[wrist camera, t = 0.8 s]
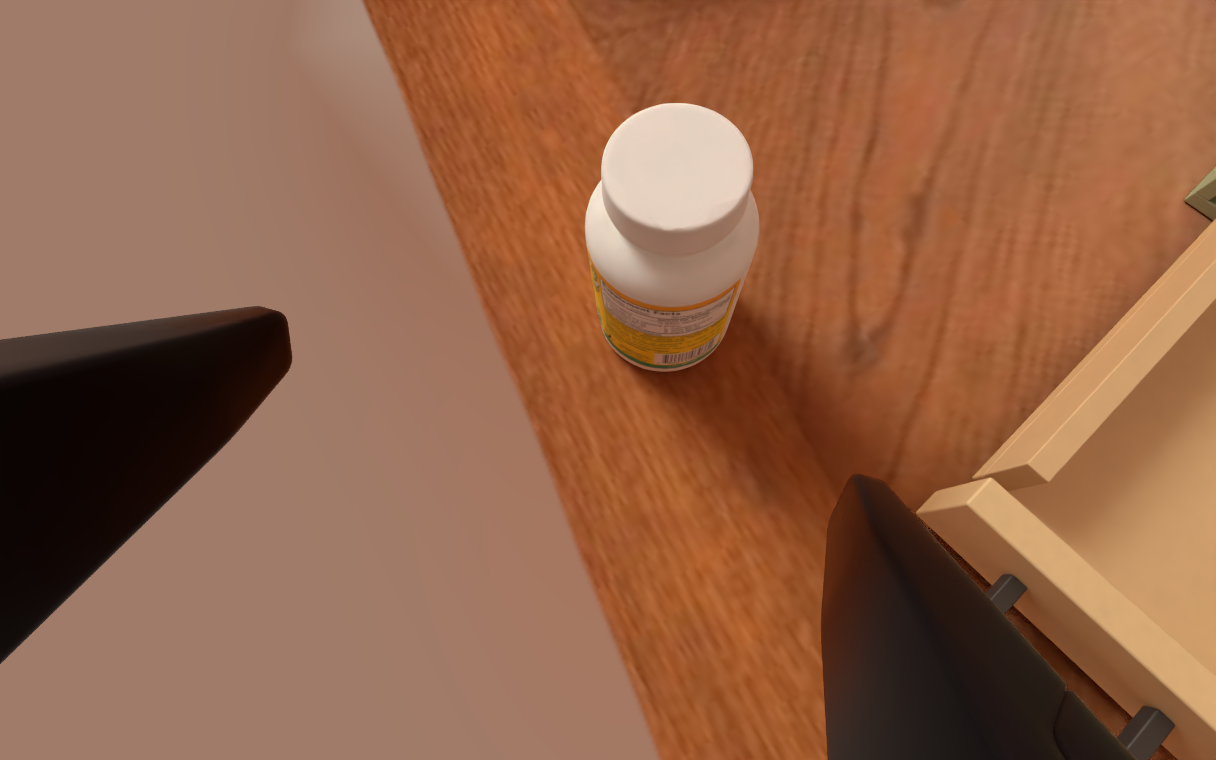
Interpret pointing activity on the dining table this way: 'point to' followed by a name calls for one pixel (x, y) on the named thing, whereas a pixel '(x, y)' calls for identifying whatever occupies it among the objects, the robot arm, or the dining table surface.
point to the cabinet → (1205, 196)
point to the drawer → (1117, 513)
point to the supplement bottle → (671, 234)
